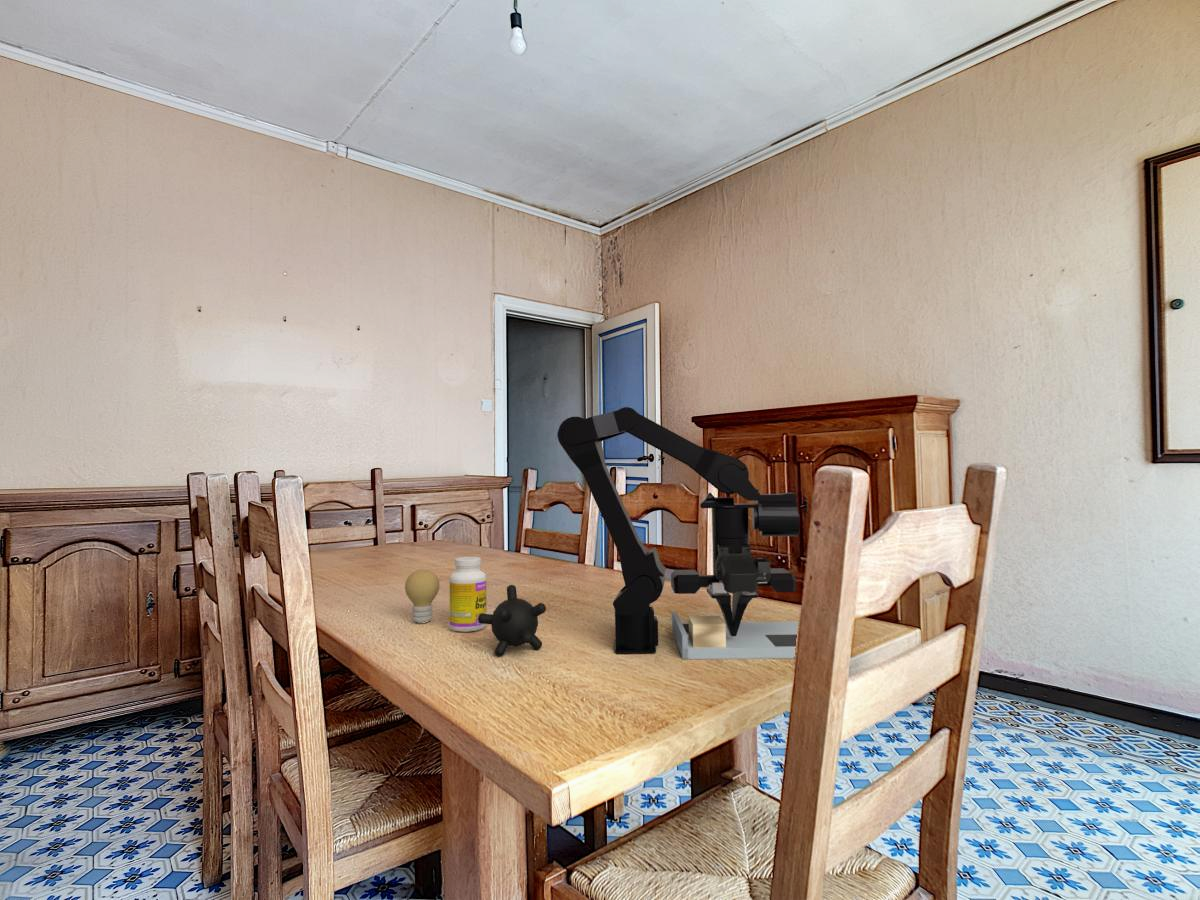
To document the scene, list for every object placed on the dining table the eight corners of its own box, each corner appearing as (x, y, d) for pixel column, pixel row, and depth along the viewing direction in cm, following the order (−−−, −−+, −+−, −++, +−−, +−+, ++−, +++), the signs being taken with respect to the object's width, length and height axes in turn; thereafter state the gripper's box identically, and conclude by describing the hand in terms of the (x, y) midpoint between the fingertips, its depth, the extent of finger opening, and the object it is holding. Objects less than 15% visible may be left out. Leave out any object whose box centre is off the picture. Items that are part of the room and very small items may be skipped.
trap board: (682, 659, 92) (682, 635, 92) (672, 632, 107) (671, 611, 107) (835, 657, 92) (834, 633, 92) (803, 630, 107) (802, 609, 107)
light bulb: (405, 619, 119) (404, 568, 119) (439, 616, 121) (438, 566, 121) (405, 627, 113) (404, 573, 113) (440, 624, 114) (440, 571, 115)
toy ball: (482, 648, 89) (458, 611, 99) (524, 684, 94) (497, 645, 105) (534, 595, 92) (505, 564, 102) (572, 633, 97) (541, 600, 107)
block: (693, 647, 93) (692, 624, 93) (688, 638, 98) (688, 616, 98) (726, 647, 92) (725, 623, 93) (720, 637, 97) (719, 615, 98)
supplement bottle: (478, 634, 107) (477, 561, 108) (443, 632, 109) (442, 560, 109) (492, 624, 114) (491, 555, 114) (459, 623, 115) (458, 555, 116)
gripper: (677, 544, 88) (679, 652, 88) (806, 541, 88) (809, 650, 87) (669, 535, 99) (671, 631, 99) (784, 533, 99) (786, 629, 99)
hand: (733, 635), depth 96 cm, fingers closed
